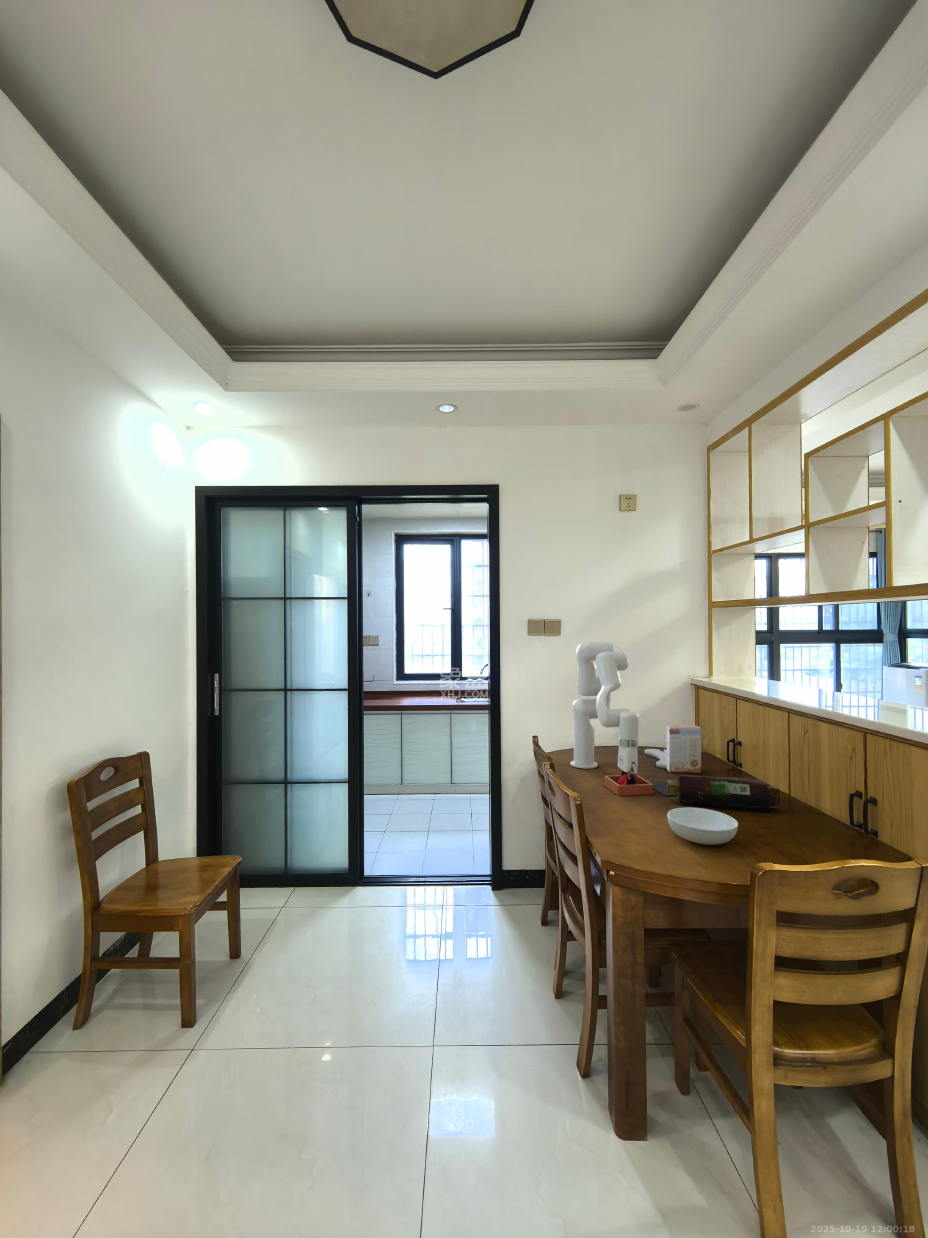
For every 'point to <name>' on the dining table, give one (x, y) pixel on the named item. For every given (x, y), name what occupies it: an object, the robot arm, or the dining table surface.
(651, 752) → the holder
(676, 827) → the serving bowl
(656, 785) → the mat
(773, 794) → the packaged item
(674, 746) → the cracker box
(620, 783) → the cap
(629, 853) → the dining table surface
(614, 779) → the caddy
